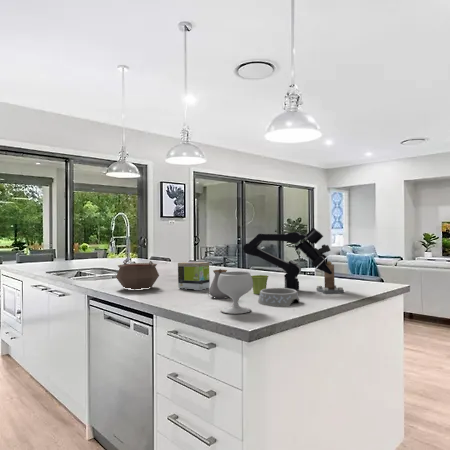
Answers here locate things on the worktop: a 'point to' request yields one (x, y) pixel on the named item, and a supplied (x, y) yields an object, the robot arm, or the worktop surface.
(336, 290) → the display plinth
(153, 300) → the worktop surface
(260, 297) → the dog bowl
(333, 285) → the pepper mill
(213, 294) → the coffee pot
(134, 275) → the brown faceted rounded vessel
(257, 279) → the plant pot
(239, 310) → the chalice
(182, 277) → the tea box
